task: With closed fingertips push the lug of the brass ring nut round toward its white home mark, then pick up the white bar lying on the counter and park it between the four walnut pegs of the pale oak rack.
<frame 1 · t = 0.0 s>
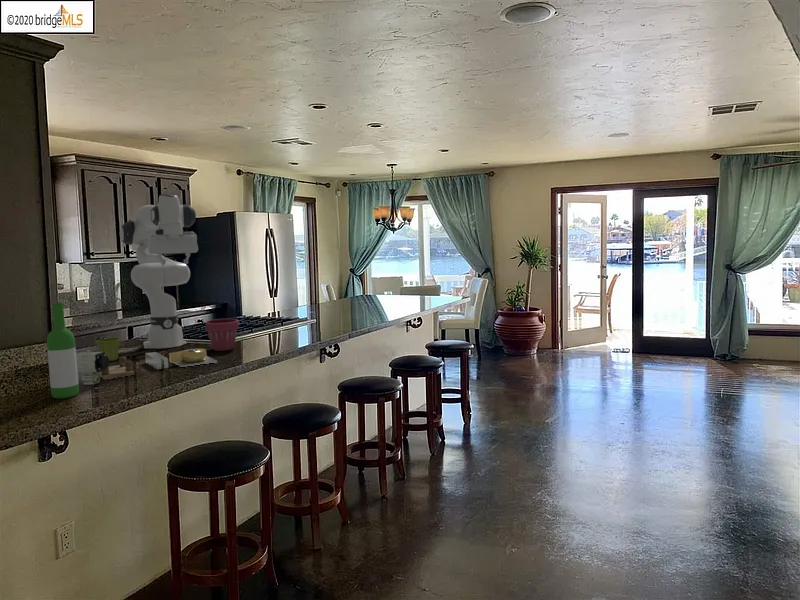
hand: (174, 264, 253), 39 cm above the counter, tool pointing down, fingers open, 8 cm apart
white bar: (156, 365, 233), on the counter
pneumatic valve: (90, 385, 204), on the counter
nut base: (193, 362, 236), on the counter
plant pot 2: (110, 360, 247), on the counter
plant pot: (223, 349, 266), on the counter
ring nut: (188, 355, 235), point 3 cm above the counter, hinge at 0.0°
wine bottle: (65, 396, 189), on the counter
rack: (114, 374, 219), on the counter
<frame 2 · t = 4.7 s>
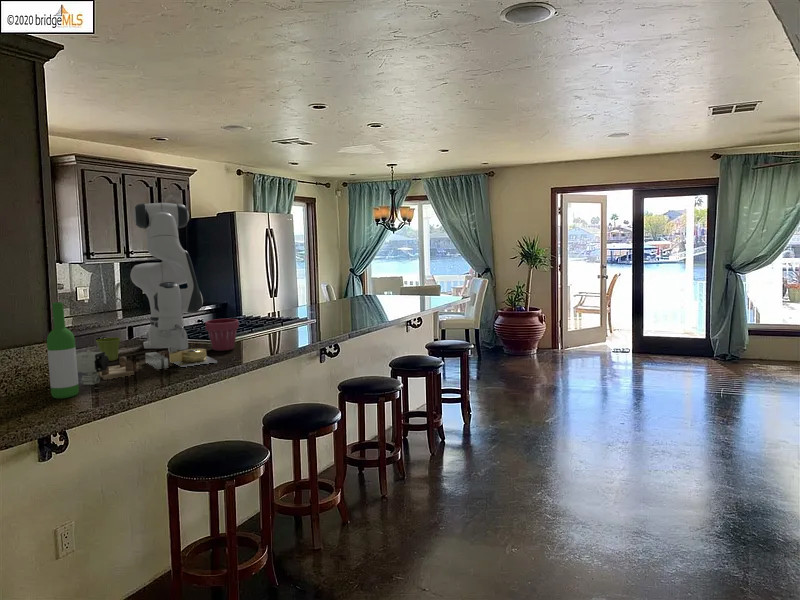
hand: (173, 358, 234), 2 cm above the counter, tool pointing down, fingers closed
ring nut: (188, 355, 235), point 3 cm above the counter, hinge at 1.4°, touching gripper
everything else where it was.
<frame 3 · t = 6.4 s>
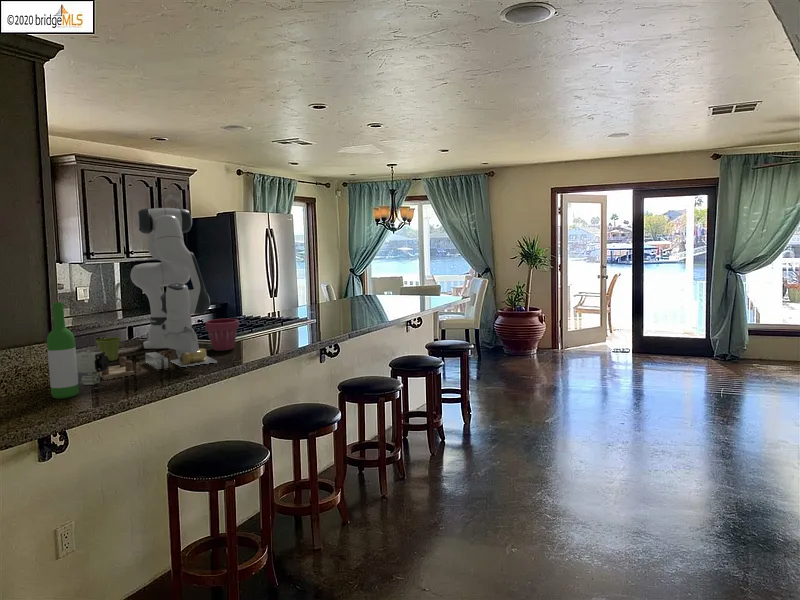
hand: (181, 361, 230), 2 cm above the counter, tool pointing down, fingers closed
ring nut: (191, 355, 234), point 3 cm above the counter, hinge at 54.6°, touching gripper
everything else where it was.
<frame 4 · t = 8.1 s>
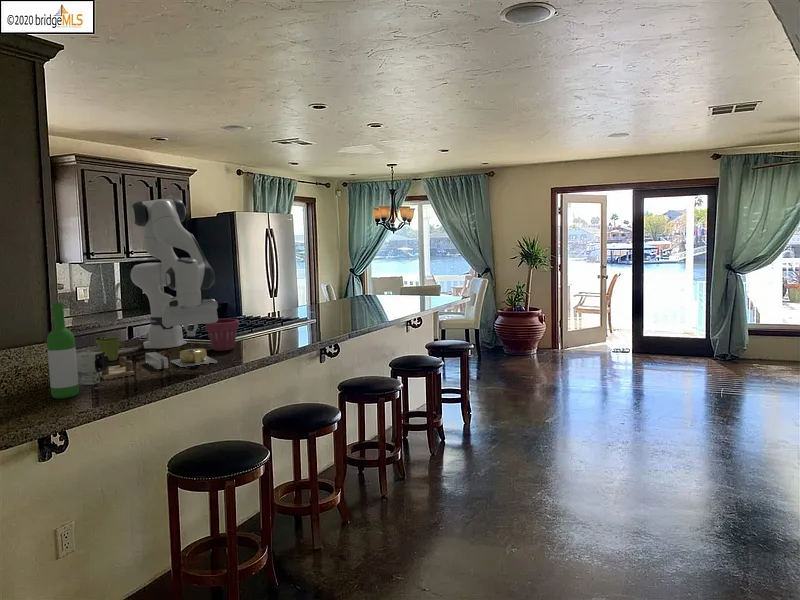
hand: (191, 335, 228), 12 cm above the counter, tool pointing down, fingers closed
ring nut: (194, 355, 234), point 3 cm above the counter, hinge at 83.5°
everything else where it was.
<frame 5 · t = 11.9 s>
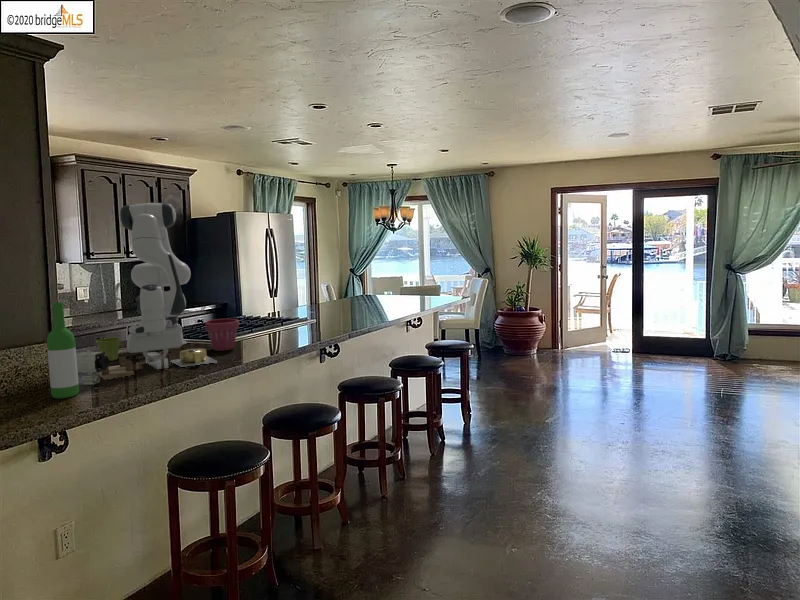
hand: (156, 361, 233), 2 cm above the counter, tool pointing down, fingers closed on white bar, 4 cm apart
white bar: (156, 365, 233), on the counter, touching gripper
everything else where it was.
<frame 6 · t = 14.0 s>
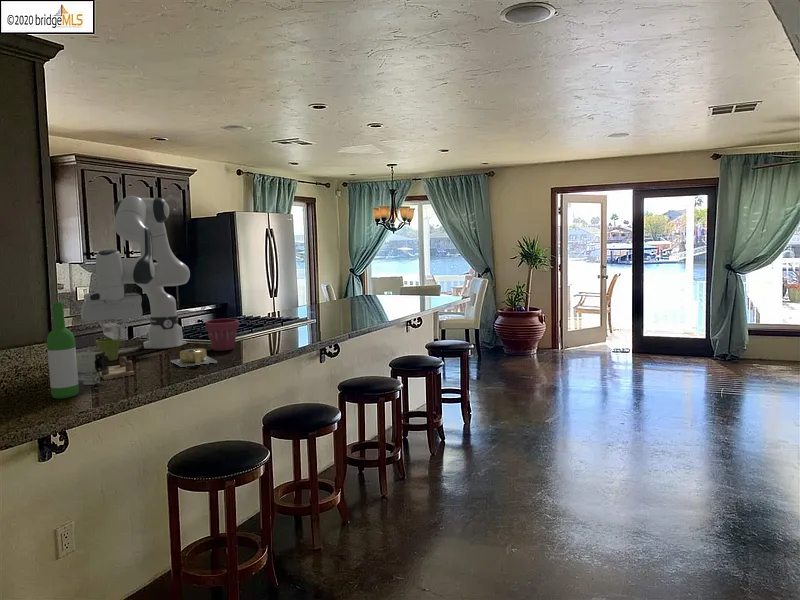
hand: (113, 331, 218), 16 cm above the counter, tool pointing down, fingers closed on white bar, 4 cm apart
white bar: (114, 336, 218), point 14 cm above the counter, touching gripper
everything else where it was.
when the fingers open (4 cm above the counter, at t = 16.5 s): white bar stays where it is, resting on rack.
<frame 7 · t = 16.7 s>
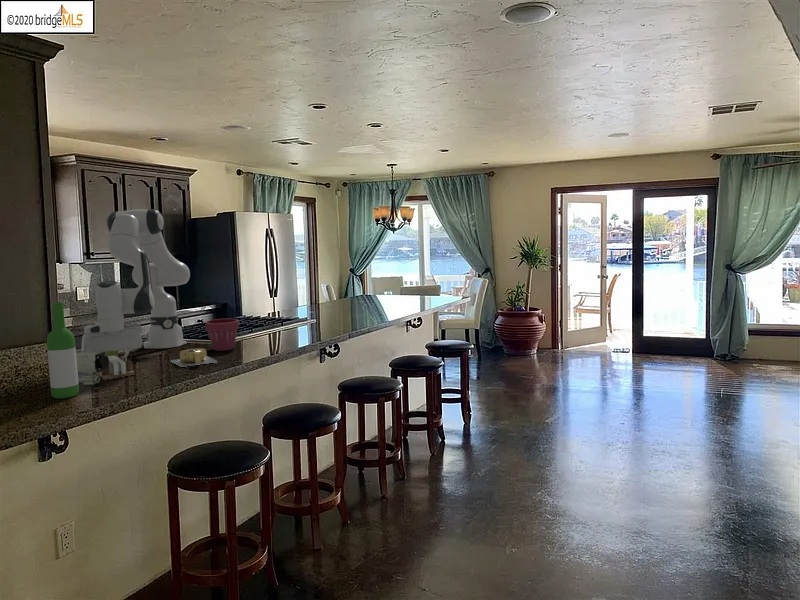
hand: (114, 362, 219), 4 cm above the counter, tool pointing down, fingers open, 6 cm apart
white bar: (114, 370, 219), point 1 cm above the counter, touching rack
everything else where it was.
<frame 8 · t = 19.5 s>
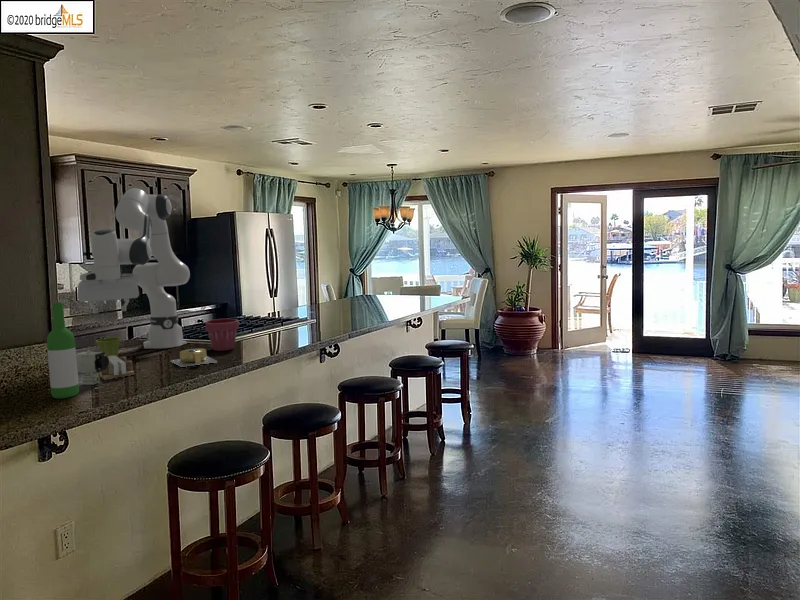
hand: (110, 312, 217), 23 cm above the counter, tool pointing down, fingers open, 8 cm apart
nothing on the counter moved.
at the end: ring nut at +84° (first picture: +0°); white bar inside the target area on the rack (0.1 cm from its centre), point 1.5 cm above the rack's base; the gripper is holding nothing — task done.
